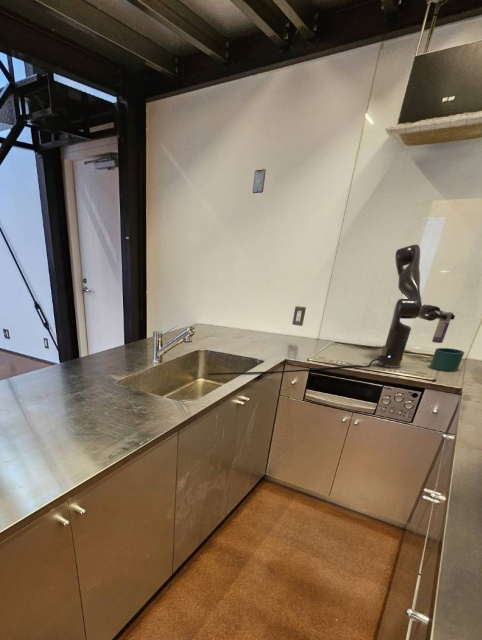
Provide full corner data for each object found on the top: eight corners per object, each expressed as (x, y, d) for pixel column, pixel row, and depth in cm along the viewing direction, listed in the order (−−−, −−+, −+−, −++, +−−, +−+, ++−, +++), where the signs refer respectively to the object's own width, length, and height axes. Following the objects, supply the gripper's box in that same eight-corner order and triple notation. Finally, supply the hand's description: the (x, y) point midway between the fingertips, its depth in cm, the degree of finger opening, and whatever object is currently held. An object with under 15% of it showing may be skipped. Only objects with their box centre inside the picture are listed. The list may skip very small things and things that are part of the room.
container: (439, 341, 204) (449, 311, 196) (444, 343, 199) (455, 313, 192) (429, 341, 204) (439, 311, 197) (434, 342, 200) (445, 313, 193)
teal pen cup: (436, 371, 191) (442, 353, 186) (425, 364, 201) (431, 347, 196) (462, 371, 189) (469, 353, 184) (450, 365, 199) (456, 348, 194)
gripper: (417, 305, 206) (438, 310, 191) (443, 305, 206) (466, 309, 191) (412, 319, 210) (433, 325, 195) (438, 319, 210) (461, 325, 195)
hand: (449, 317), depth 193 cm, fingers closed on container, 3 cm apart
